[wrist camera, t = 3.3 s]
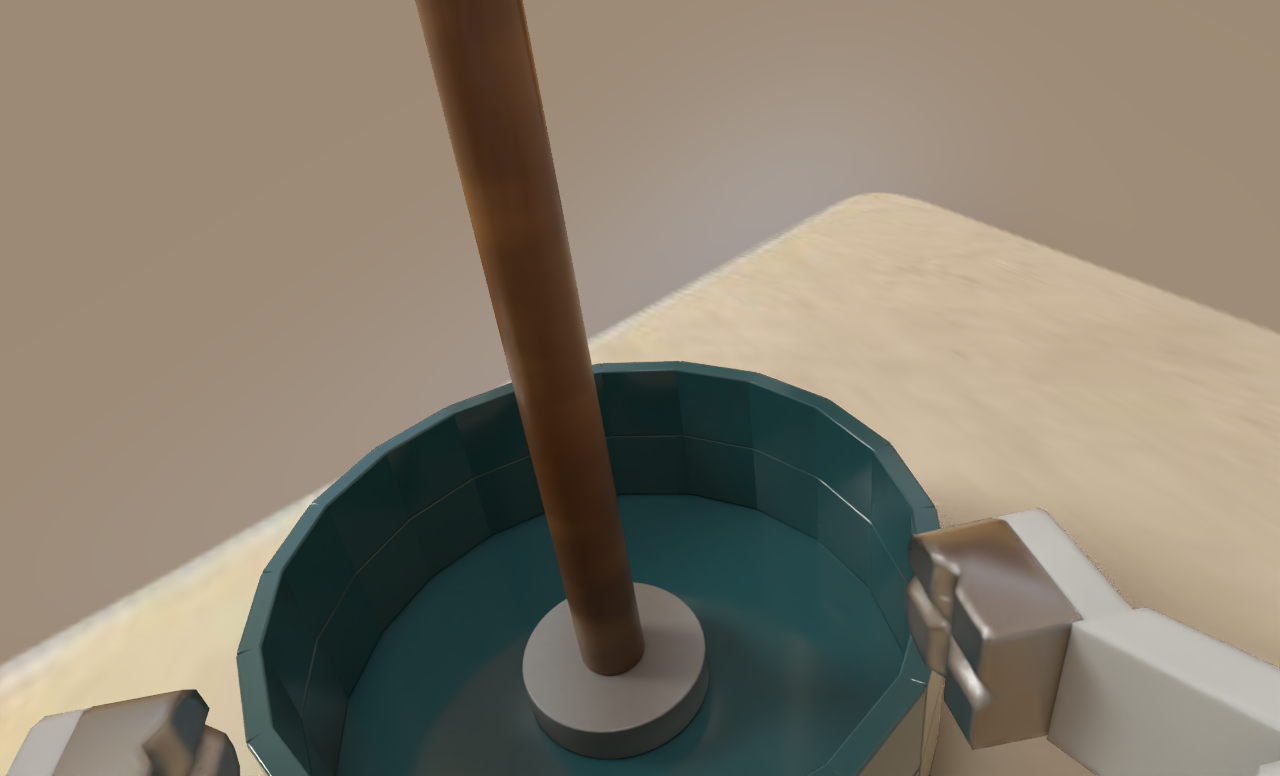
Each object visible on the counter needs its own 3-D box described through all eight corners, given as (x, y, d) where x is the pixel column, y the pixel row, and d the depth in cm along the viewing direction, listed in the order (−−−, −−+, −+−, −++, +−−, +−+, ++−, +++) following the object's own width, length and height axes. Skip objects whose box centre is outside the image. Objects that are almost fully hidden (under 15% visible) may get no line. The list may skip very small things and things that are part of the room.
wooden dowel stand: (535, 779, 22) (262, -26, 12) (526, 627, 26) (322, -57, 16) (728, 735, 22) (630, -87, 12) (688, 593, 27) (590, -100, 16)
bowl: (262, 1133, 17) (125, 1004, 14) (363, 550, 31) (308, 419, 28) (1072, 934, 18) (1122, 770, 15) (810, 458, 32) (806, 322, 29)
